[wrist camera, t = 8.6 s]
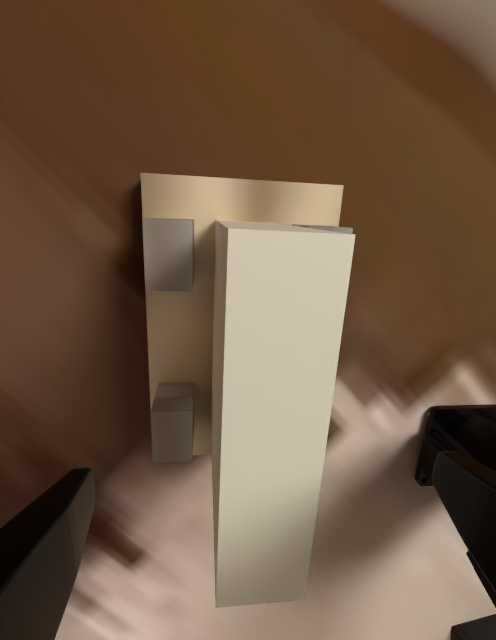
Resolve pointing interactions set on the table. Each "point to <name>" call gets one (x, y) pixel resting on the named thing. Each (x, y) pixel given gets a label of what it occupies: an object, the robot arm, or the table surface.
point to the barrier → (475, 629)
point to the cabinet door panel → (272, 400)
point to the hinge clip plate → (202, 287)
